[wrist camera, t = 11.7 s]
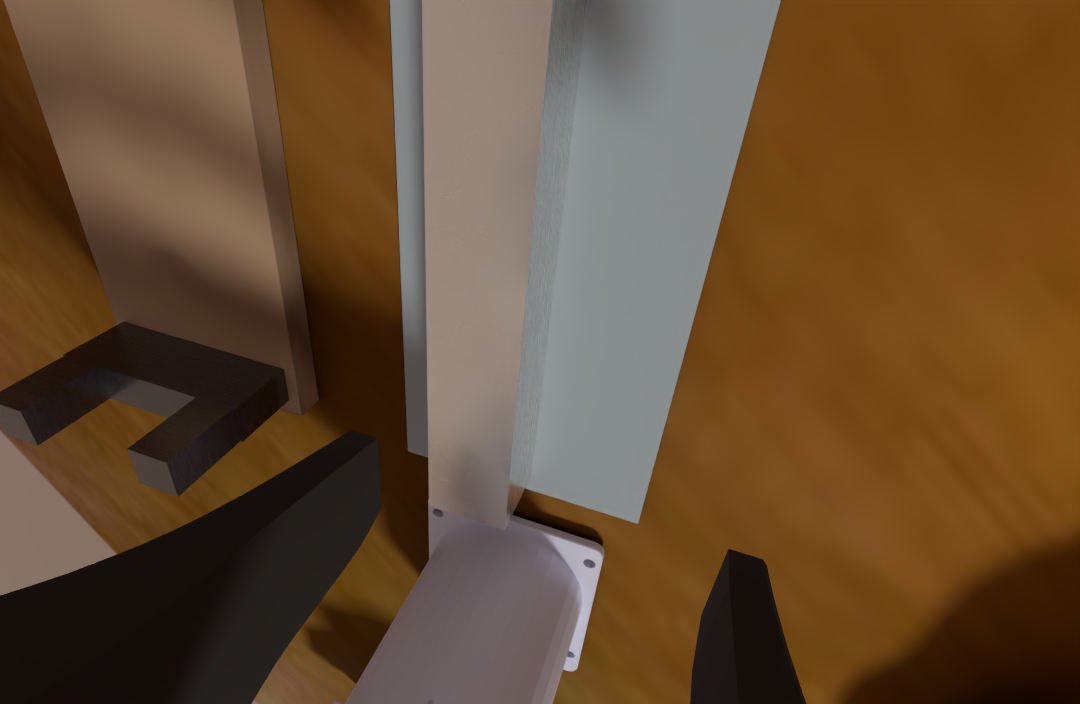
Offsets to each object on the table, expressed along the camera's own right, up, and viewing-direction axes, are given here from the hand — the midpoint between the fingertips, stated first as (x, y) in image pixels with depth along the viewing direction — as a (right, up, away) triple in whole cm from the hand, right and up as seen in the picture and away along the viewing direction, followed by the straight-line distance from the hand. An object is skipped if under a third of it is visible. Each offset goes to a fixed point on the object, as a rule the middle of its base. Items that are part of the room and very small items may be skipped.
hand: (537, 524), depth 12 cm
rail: (-1, +8, +6) cm, 10 cm away
